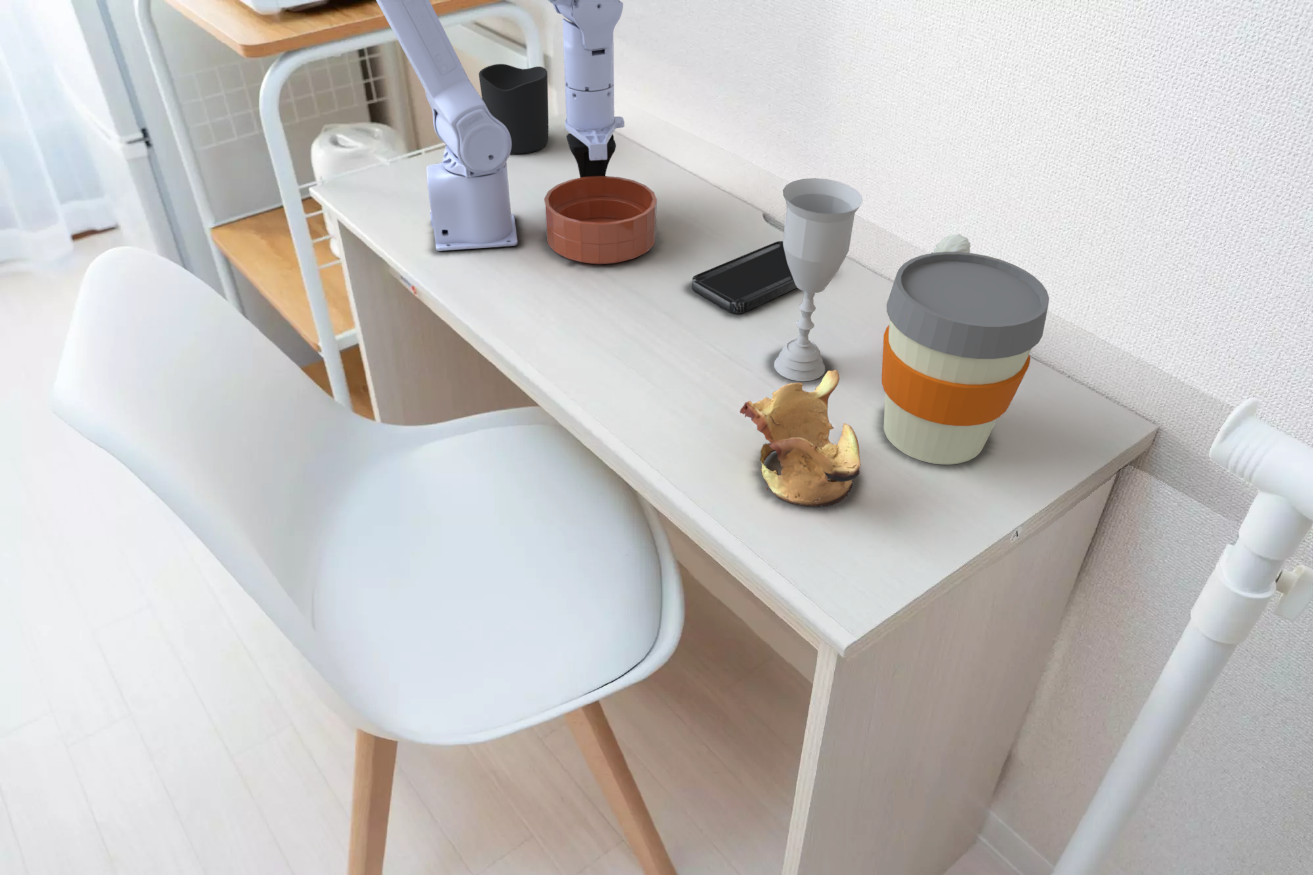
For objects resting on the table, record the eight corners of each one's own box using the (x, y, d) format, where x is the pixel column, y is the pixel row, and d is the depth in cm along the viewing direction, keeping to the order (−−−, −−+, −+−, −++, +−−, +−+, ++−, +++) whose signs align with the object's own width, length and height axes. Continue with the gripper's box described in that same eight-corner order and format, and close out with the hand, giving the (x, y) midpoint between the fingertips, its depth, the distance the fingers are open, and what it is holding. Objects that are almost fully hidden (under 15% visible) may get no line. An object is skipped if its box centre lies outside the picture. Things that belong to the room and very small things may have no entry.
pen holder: (528, 126, 141) (522, 58, 135) (564, 145, 135) (560, 75, 129) (473, 141, 136) (466, 70, 130) (508, 161, 131) (502, 89, 124)
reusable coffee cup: (1034, 462, 82) (1086, 315, 72) (906, 490, 79) (944, 339, 69) (956, 382, 91) (994, 242, 82) (839, 404, 88) (864, 261, 78)
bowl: (552, 271, 107) (549, 227, 103) (543, 221, 117) (540, 179, 113) (664, 264, 108) (665, 220, 105) (646, 214, 118) (646, 173, 115)
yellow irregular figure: (718, 465, 81) (724, 386, 76) (794, 420, 86) (805, 343, 81) (824, 541, 74) (838, 460, 69) (900, 487, 79) (919, 408, 74)
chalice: (752, 353, 94) (768, 184, 83) (812, 340, 96) (836, 173, 85) (785, 393, 89) (807, 219, 78) (848, 379, 91) (878, 207, 80)
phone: (687, 278, 103) (782, 239, 111) (687, 287, 104) (781, 247, 112) (737, 307, 99) (832, 264, 106) (736, 316, 99) (831, 273, 107)
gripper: (633, 103, 104) (633, 216, 112) (614, 62, 115) (615, 168, 124) (569, 106, 103) (574, 220, 111) (557, 64, 114) (562, 171, 122)
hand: (592, 193), depth 117 cm, fingers closed
